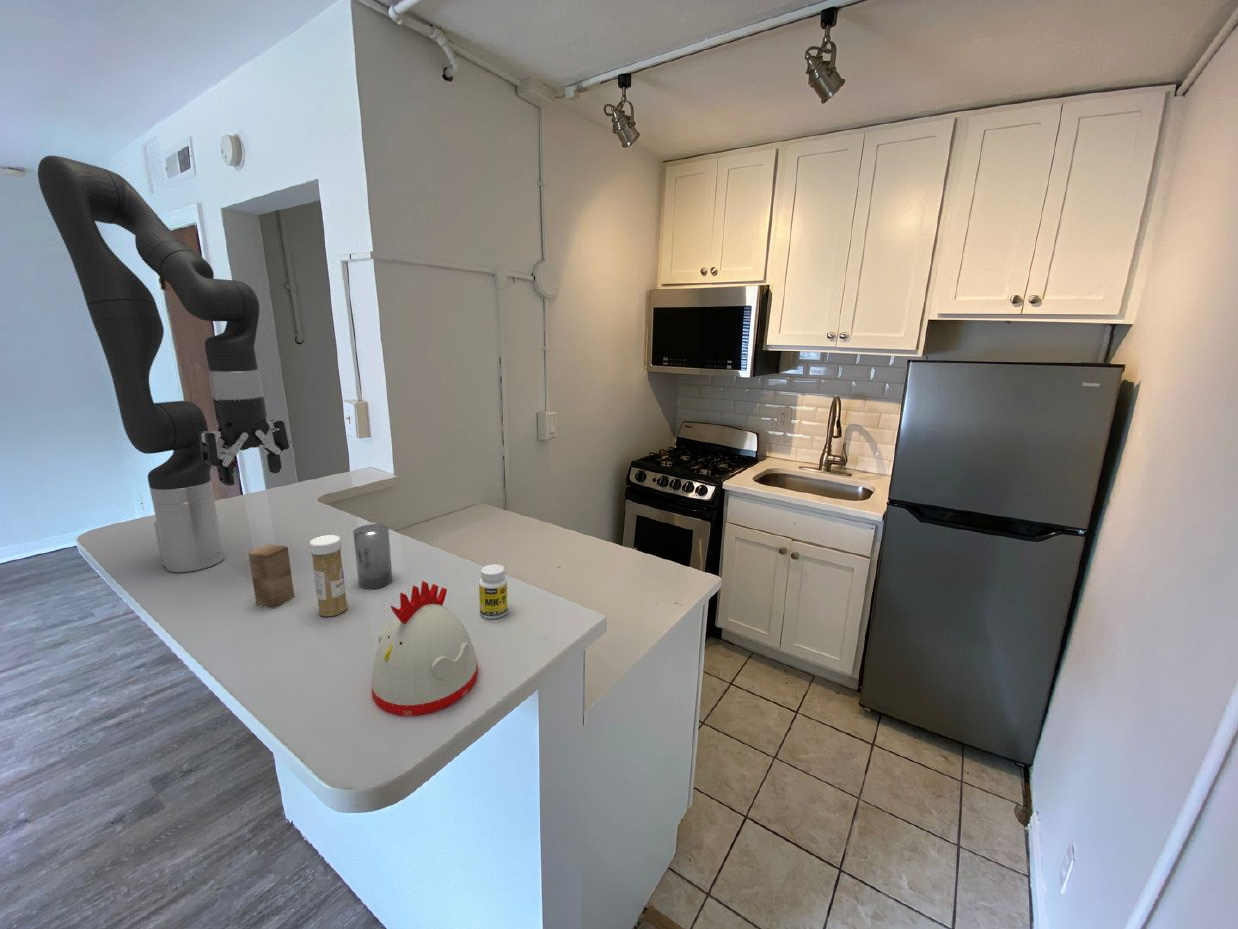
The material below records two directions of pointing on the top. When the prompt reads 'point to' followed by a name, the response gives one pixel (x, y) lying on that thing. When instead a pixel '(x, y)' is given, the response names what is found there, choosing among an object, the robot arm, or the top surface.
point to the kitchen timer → (423, 657)
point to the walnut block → (271, 575)
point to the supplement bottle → (493, 592)
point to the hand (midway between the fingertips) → (252, 478)
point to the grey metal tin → (373, 556)
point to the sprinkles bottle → (328, 574)
